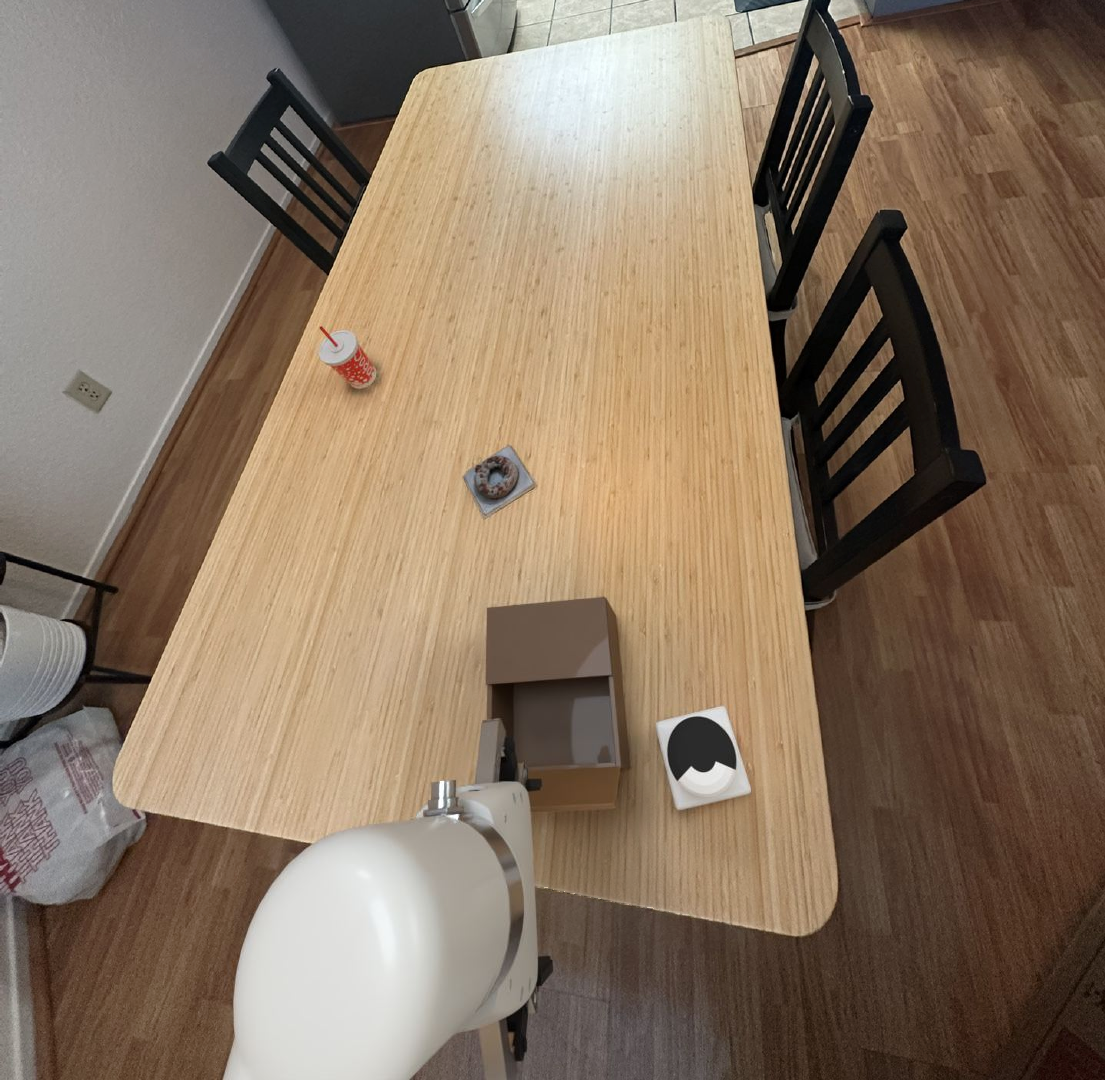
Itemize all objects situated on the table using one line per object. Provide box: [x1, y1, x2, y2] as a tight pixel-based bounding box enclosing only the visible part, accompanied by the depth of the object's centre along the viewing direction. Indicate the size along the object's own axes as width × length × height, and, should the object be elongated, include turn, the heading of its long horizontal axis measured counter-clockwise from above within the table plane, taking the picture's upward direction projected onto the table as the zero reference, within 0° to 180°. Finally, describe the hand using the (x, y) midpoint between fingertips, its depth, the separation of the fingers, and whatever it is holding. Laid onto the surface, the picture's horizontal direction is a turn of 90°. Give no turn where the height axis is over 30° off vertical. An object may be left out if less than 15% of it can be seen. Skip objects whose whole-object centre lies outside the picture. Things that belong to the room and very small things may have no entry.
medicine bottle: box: [654, 705, 752, 811], centre depth 60 cm, size 7×7×12 cm
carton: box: [485, 596, 632, 771], centre depth 66 cm, size 15×13×10 cm
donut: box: [462, 444, 538, 520], centre depth 86 cm, size 8×8×2 cm
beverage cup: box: [318, 325, 377, 390], centre depth 96 cm, size 6×6×14 cm
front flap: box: [528, 766, 621, 814], centre depth 54 cm, size 7×13×1 cm
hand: (525, 869), depth 44 cm, fingers open, 9 cm apart
